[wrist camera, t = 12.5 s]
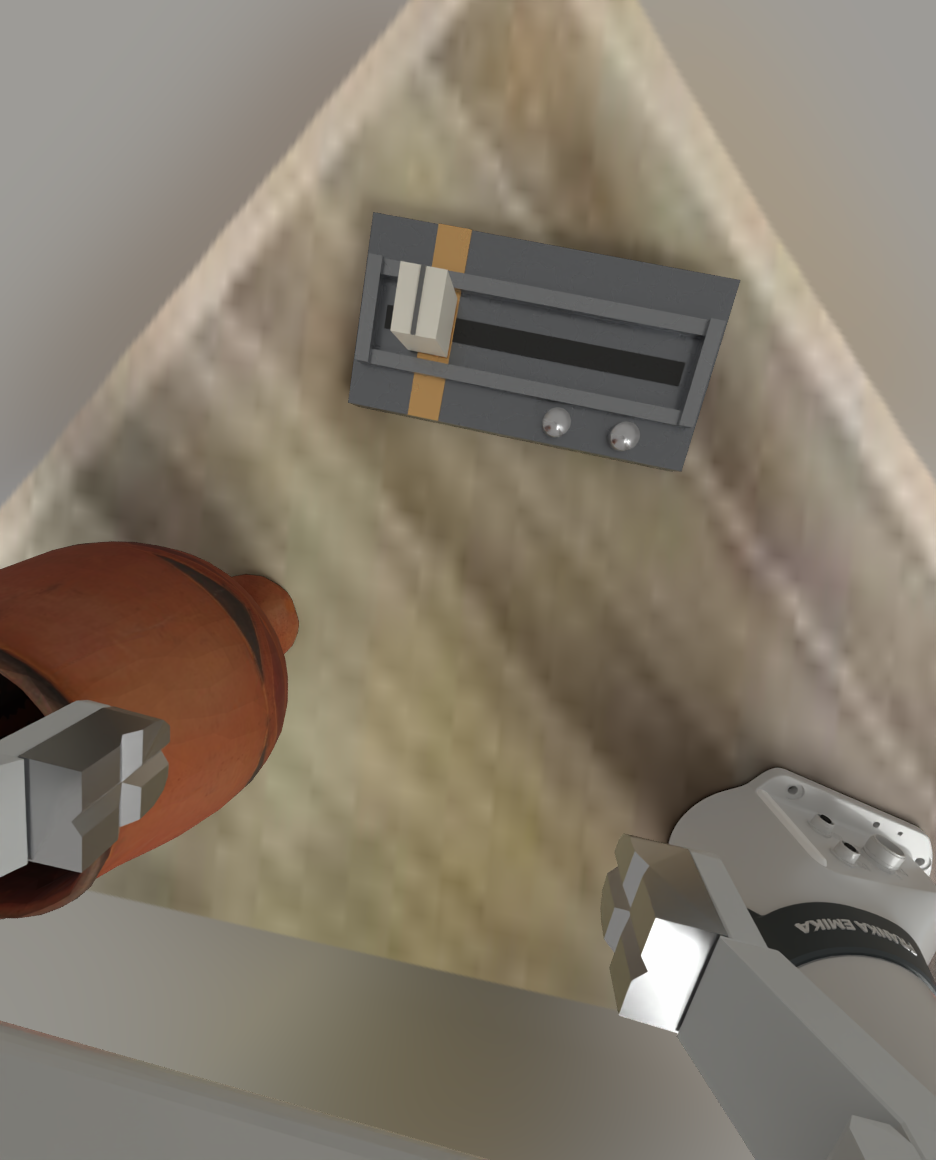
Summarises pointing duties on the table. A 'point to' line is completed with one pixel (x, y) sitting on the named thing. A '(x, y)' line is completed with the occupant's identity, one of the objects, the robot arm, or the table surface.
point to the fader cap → (424, 309)
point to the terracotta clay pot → (145, 679)
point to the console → (545, 343)
